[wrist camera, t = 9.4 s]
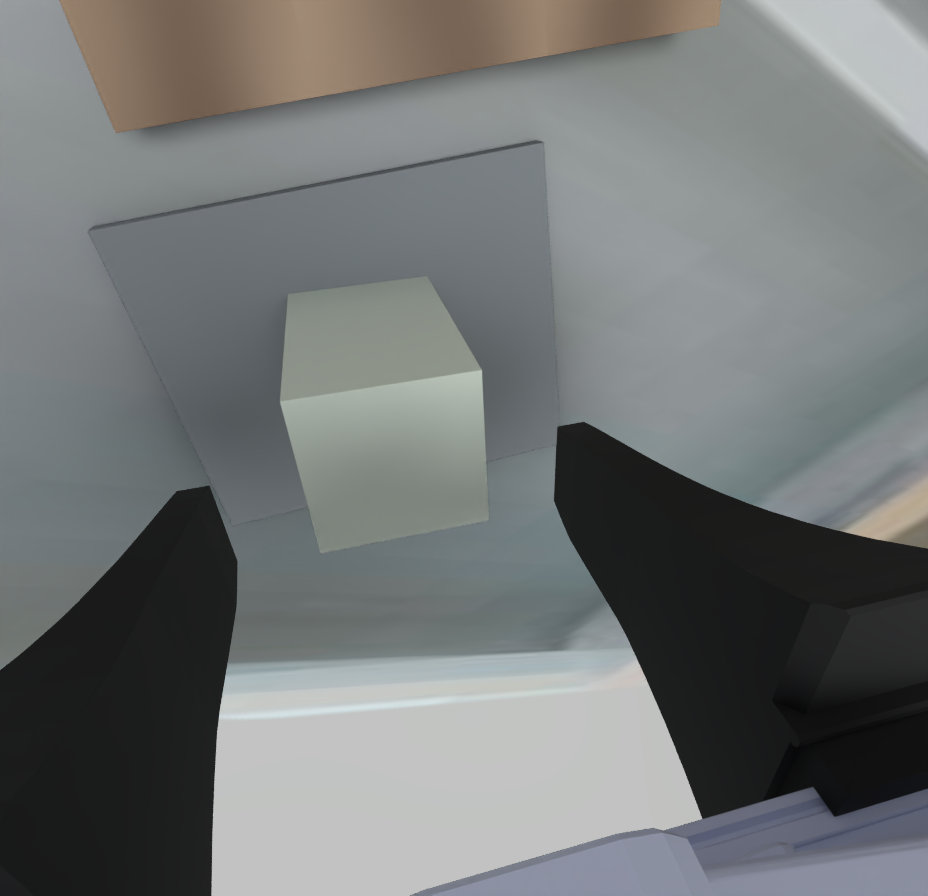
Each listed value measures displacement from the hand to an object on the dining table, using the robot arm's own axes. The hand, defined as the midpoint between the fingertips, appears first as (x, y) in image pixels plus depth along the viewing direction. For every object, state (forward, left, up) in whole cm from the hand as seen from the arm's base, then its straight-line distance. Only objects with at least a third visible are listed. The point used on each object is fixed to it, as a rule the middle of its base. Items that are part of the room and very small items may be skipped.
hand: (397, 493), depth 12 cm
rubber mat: (0, 0, -8) cm, 8 cm away
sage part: (0, 0, -7) cm, 7 cm away
